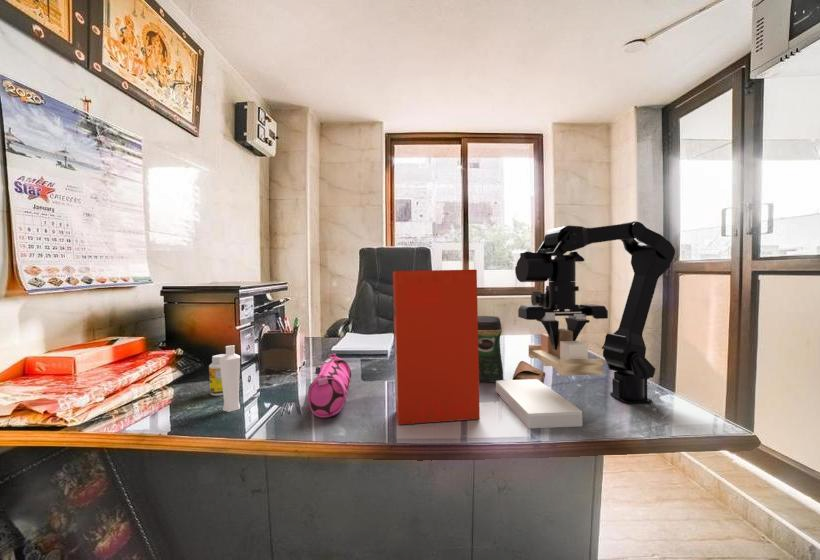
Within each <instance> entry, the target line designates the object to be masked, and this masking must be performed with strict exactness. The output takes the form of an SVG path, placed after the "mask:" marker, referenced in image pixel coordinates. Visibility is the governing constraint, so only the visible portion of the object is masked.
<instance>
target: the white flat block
mask: <svg viewBox="0 0 820 560" xmlns="http://www.w3.org/2000/svg"><path fill="white" fill-rule="evenodd" d="M495 393H496V394H497V393H498V394H499V395H500V396H499V395H498V394H497V395H498V396H499V398H501V399H502V400H503V401H504V403H505V402H506V403H507V404H508V405H507V404H506V403H505V404H506V405H507V406H508V407H509V408H510V409H511V410H512V412H513V413H514V414H515V415H516V416H517V417H518V418H519V420H520V421H521V422H522V423H523V424H524V425H525V426H526V427H527V428H528V429H529V430H530V429H550V428H569V427H570V428H574V427H583V411H582V410H581V409H579V408H578V407H577V406H576V405H574V404H573V403H571V402H570V401H569V400H567V399H566V398H564V397H563V396H561V395H560V394H558V393H557V392H556V391H554V389H552V388H550V387H549V386H548V385H546V384H544V382H543V383H542V382H540V381H539V380H538V379H526V380H512V379H506V380H505V379H504V380H503V379H502V380H498V381H496V382H495Z"/></svg>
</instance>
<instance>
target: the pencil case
mask: <svg viewBox="0 0 820 560" xmlns="http://www.w3.org/2000/svg"><path fill="white" fill-rule="evenodd" d="M327 356H328V358H327V359H326V360H325V361H324V362H323V364H322V365H320V367H318V366H317V367H316V368H315V371H314V374H315V375H317V377H315V378H314V380H313V381H311V383H310V385H309V387H308V390H307V402H308V406H309V409H310V411H311V412H312V414H313V415H315V416H316V417H318V418H321V419H322V418H331V417H333V416H335V415H336V414H338V413H339V412H340V411H342V410H343V408H344V405H346V402H347V401H346V400H347V397H348V393H349V388H350V385H351V381H352V370H351V368H350V366H349V364H348V363H347V361H346V360H344V359H342V358H340V357H338V356H337V354H336V353H330V354H328V355H327Z"/></svg>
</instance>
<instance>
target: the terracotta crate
mask: <svg viewBox="0 0 820 560" xmlns="http://www.w3.org/2000/svg"><path fill="white" fill-rule="evenodd" d="M540 345H541V350H542V351H544V352H546V353H552V344H551V342H550V339H549V336H548V333H540Z"/></svg>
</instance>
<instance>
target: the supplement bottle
mask: <svg viewBox="0 0 820 560" xmlns="http://www.w3.org/2000/svg"><path fill="white" fill-rule="evenodd" d="M225 355H226V353H220V354H216V355H211V356H212V357H211V363H210V364H209V365H208V373H209V377H208V378H209V393H210V395H211V396H215V397H219V396H223V387H222V378H221V370H220V361H219V359H220V358H221V357H223V356H225Z"/></svg>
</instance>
